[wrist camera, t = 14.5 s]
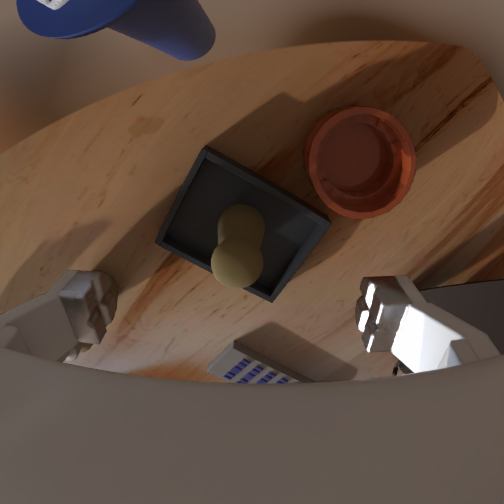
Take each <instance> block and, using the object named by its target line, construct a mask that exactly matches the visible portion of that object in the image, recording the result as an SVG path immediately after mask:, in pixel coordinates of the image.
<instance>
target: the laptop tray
mask: <svg viewBox="0 0 504 504" xmlns="http://www.w3.org/2000/svg"><path fill="white" fill-rule="evenodd" d="M418 291H419V292H420V294H421V295H422V296H423V298H424V299H425V301H426V302H427V303H432V304H434V305H436V306H438V307H440V308H441V309H443V310H445V311H447V312H449V313H450V314H452V315H454V316H456V317H458V318H459V319H461V320H463V321H465V322H466V323H468V324H470V325H472V326H474V327H475V328H477V329H479V330H480V331H482V332H484V333H486V334H487V335H488V337H489V338H490V340H491V341H492V343H493V344H494V345H495V347H496V348H497V350H498V351H499V353H500V354H501V355H503V354H504V279H498V280H488V281H480V282H472V283H464V284H456V285H449V286H442V287H435V288H429V289H423V290H418ZM398 366H399V367H400V369H401V371H402V372H403V373H405V374H410V373H414V372H413V371H412V370H411V369H410V368H408V367H407V366H406V365H405V364H404V363H403V362H402V361H401V360H400V361H399V362H397V363H396V364H395V365H394V368H393V373H392V375H393V376H396V375H397V370H398Z"/></svg>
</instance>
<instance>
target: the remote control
mask: <svg viewBox="0 0 504 504" xmlns="http://www.w3.org/2000/svg"><path fill="white" fill-rule="evenodd" d="M207 372H208V373H210V374H212V375H214V376H216V377H218V378H220V379H222V380H224V381H226V382H228V383H249V384H287V383H316V382H314V381H312V380H310V379H308V378H306V377H303V376H301V375H299V374H297V373H295V372H293V371H291V370H289V369H287V368H285V367H283V366H281V365H279V364H277V363H275V362H273V361H271V360H269V359H267V358H265V357H263V356H262V355H260V354H258V353H256V352H254V351H252V350H250V349H248V348H246V347H244V346H243V345H241V344H239V343H237V342H235V341H233V342H232V343H231V344H230V345H229V346H228V347H227V348H226V349H225V350H224V351H223V352H221V353H220V354H219V355H218V356H217V357H216V358H215V359H214V360H213V361H212V362H211V363H210V364H209V365H208V369H207Z"/></svg>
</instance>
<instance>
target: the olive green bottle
mask: <svg viewBox="0 0 504 504" xmlns="http://www.w3.org/2000/svg"><path fill="white" fill-rule="evenodd" d="M264 232H265V222H264V219H263V217H262V215H261V214H260V212H259V211H257V210H256V209H255V208H253V207H251V206H248V205H243V204H237V205H234V206H230V207H229V208H227V209H226V210H224V211H223V213H222V214H221V215H220V217H219V220H218V246H217V247H216V248H215V250H214V252H213V255H212V258H211V268H212V271H213V274H214V276H215V277H216V279H217V280H218V281H219V282H221V283H222V284H224V285H225V286H227V287H230V288H239V289H240V288H244V287H248V286H249V285H251V284H253V283H254V282H255V281H256V280H257V279H258V278H259V276H260V274H261V272H262V270H263V257H262V254H261V251H260V247H261V243H262V240H263V236H264Z"/></svg>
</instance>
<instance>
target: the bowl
mask: <svg viewBox="0 0 504 504" xmlns="http://www.w3.org/2000/svg"><path fill="white" fill-rule="evenodd" d="M303 164H304V169H305V171H306V174H307V177H308V179H309V182H310V183H311V185H312V186H313V188H314V190H315V191H316V193H317V194H318V195H319V197H320V198H321V199H322V200H323V202H324V203H325V204H326V205H327V206H328V207H330V208H331V209H333V210H334V211H336V212H337V213H339V214H340V215H343V216H347V217H351V218H355V219H364V218H374V217H376V216H379V215H382V214H384V213H387V212H389V211H390V210H391V209H393V208H394V207H395V206H396V205H398V204H399V203H400V202H401V201H402V199H403V198H404V197H405V195H406V194H407V192H408V191H409V190H410V187H411V185H412V182H413V179H414V176H415V172H416V153H415V149H414V145H413V141H412V139H411V137H410V135H409V134H408V132H407V131H406V129H405V127H404V126H403V124H401V123H400V122H399V121H398V120H397V119H396V118H394V117H393V116H392V115H391V114H389V113H387V112H384V111H382V110H379V109H376V108H373V107H364V106H342V107H339V108H336V109H333V110H330V111H328V112H327V113H326V114H324V115H323V116H322V117H320V118H319V119H318V120H317V121H316V122H315V123H314V125H313V126H312V128H311V129H310V131H309V132H308V134H307V137H306V140H305V144H304V148H303Z"/></svg>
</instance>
